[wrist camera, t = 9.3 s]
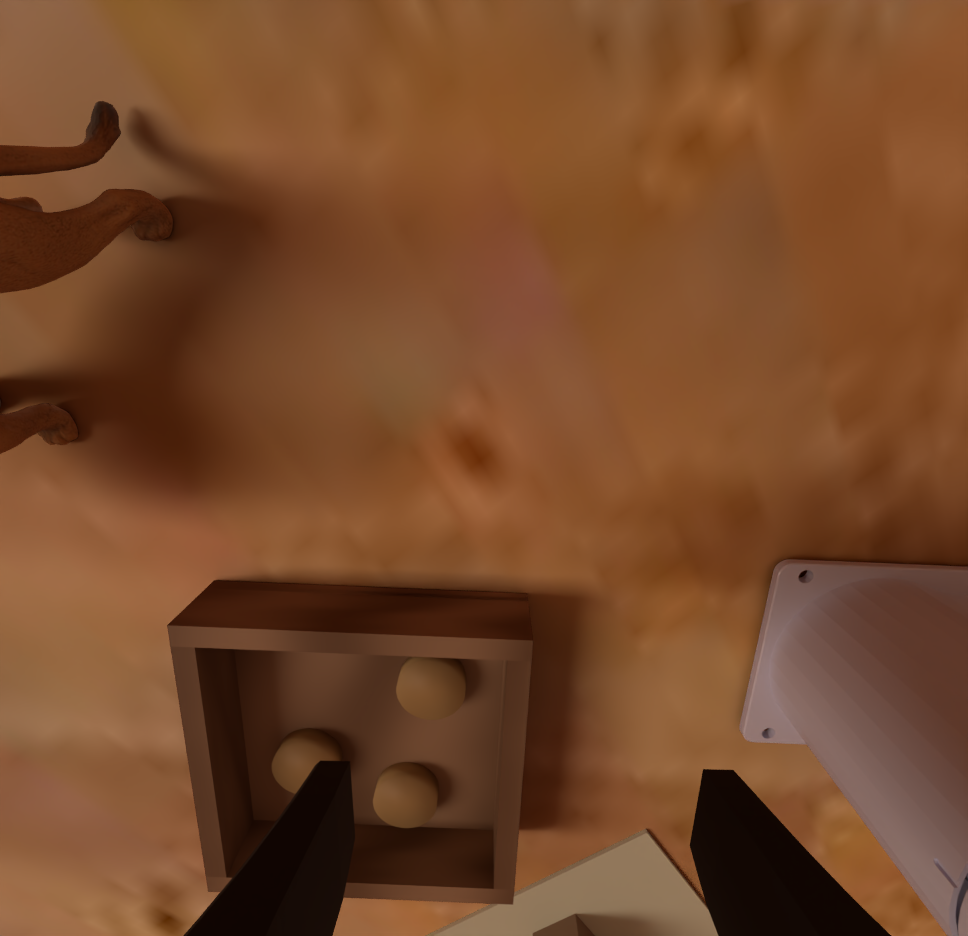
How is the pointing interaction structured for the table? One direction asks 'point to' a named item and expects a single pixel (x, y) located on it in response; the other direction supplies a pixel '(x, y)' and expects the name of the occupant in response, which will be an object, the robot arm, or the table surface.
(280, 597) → the wooden tray
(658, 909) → the lid
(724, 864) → the robot arm
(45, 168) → the lion figurine
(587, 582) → the table surface
